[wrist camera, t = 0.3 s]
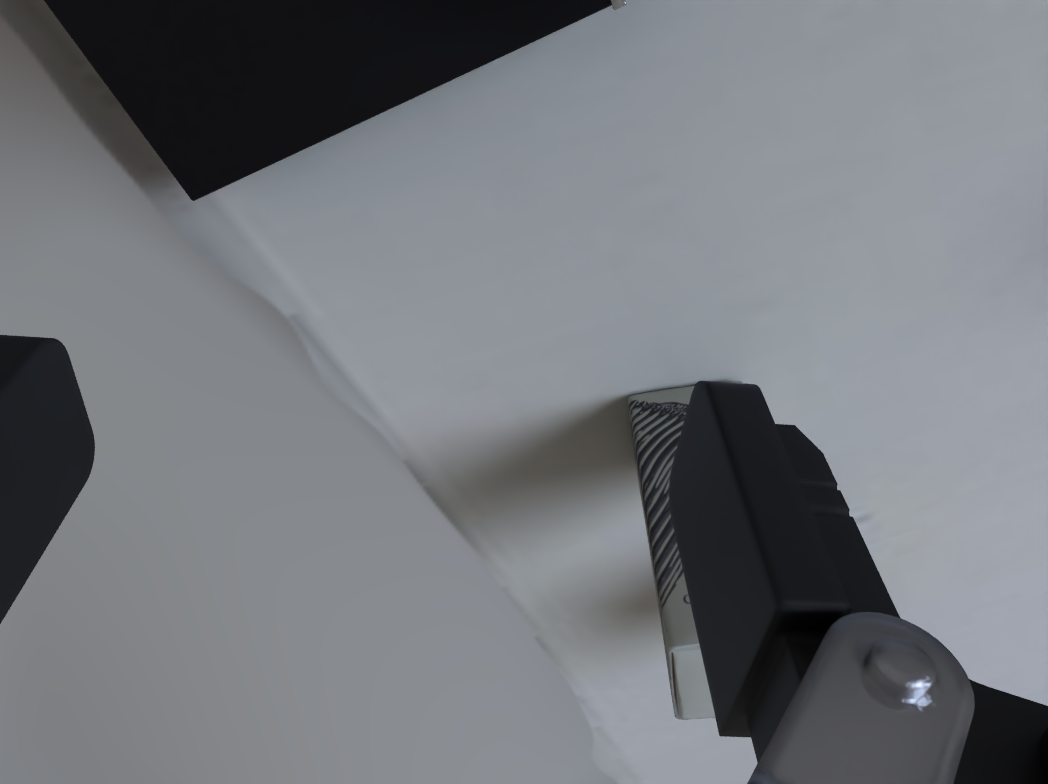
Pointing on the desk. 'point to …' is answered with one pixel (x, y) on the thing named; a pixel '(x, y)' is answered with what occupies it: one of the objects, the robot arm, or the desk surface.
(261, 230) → the desk surface
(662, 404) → the box
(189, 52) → the black rectangular base
